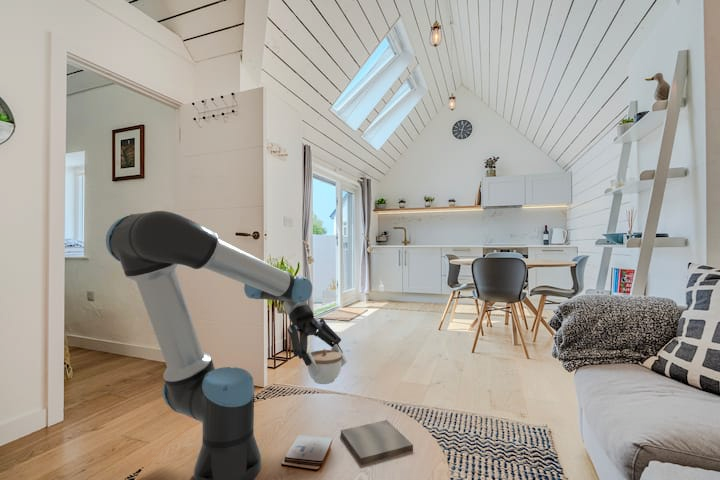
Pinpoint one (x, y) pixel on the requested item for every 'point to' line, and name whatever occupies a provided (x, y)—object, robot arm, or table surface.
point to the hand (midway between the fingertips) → (331, 368)
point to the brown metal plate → (375, 441)
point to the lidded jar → (326, 366)
